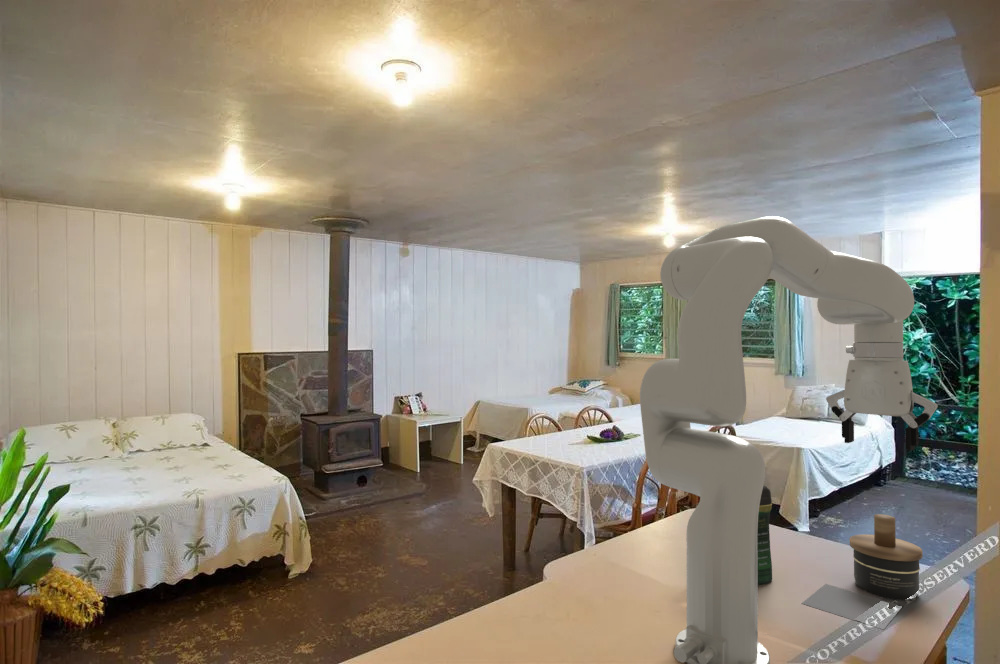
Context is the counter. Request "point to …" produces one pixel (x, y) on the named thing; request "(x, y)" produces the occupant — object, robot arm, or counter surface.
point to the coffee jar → (764, 539)
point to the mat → (842, 601)
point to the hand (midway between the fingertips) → (878, 445)
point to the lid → (885, 542)
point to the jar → (886, 576)
